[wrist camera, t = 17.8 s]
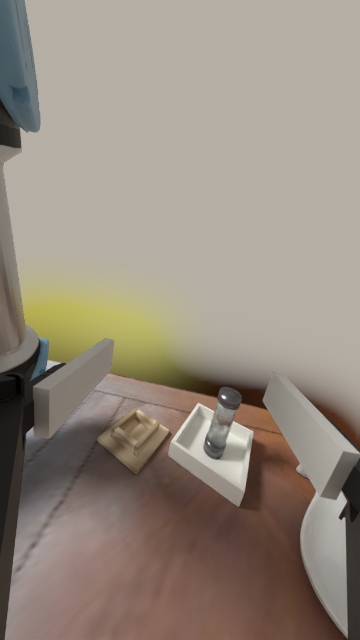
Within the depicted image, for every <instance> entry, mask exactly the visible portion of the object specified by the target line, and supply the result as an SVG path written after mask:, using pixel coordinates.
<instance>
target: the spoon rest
mask: <svg viewBox="0 0 360 640" xmlns="http://www.w3.org/2000/svg"><path fill="white" fill-rule="evenodd" d="M296 470H297V472H298V473H299V474H301V475H302V476H304V477H306V478H308V476H307V474H306V473H305V471H304V469H303V468H302V466H301V464H300V465H299V466H298V467H297V469H296ZM308 479H309V478H308ZM346 503H347V500H346V498H345V496H344V494H343V492H342V491H341V492H340V494H339V496H338V498H337V500H332V499H328V498H323V497H320V496H319V495H318V493H317V491H316V493H315V495H314V498H313V499H312V501H311V503H310V505H309V507H308V509H307V511H306V514H305V516H304V519H303V522H302V526H301V532H300V548H301V555H302V559H303V563H304V567H305V570H306V573H307V575H308V578H309V580H310V582H311V585H312V587H313V589H314V591H315V593H316V595H317V597H318V599H319V600H320V602H321V604H322V605H323V607H324V609H325V610H326V612H327V613H328V615H329V616H330V618H331V619H332V621H333V622H334V623H335V625H336V626H337V627H338V628H339V630H340V631H341V632H342V633H343V635H344V636H345V637H346V638H347V639H348V621H347V572H346V523H345V517H343V519H342V521H341V520H340V519H339V515H340V513H341V512H342V510H343V508H344V506H345V505H346Z"/></svg>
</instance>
